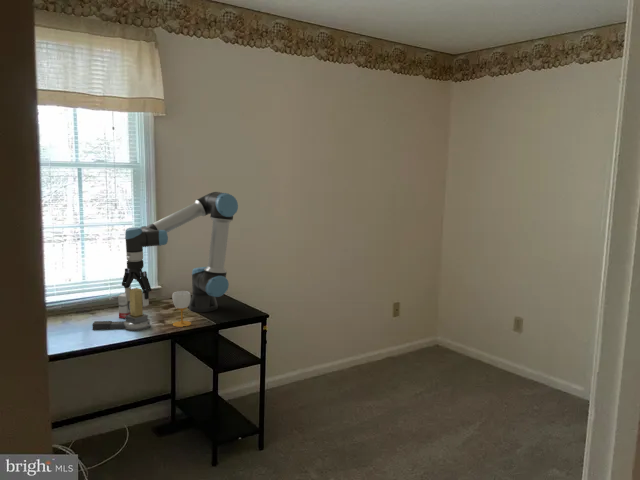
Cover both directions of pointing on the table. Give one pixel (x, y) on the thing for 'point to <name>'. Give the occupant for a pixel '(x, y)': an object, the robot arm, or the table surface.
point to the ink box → (123, 306)
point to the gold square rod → (136, 302)
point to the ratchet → (124, 324)
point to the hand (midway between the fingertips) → (137, 303)
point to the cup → (181, 305)
